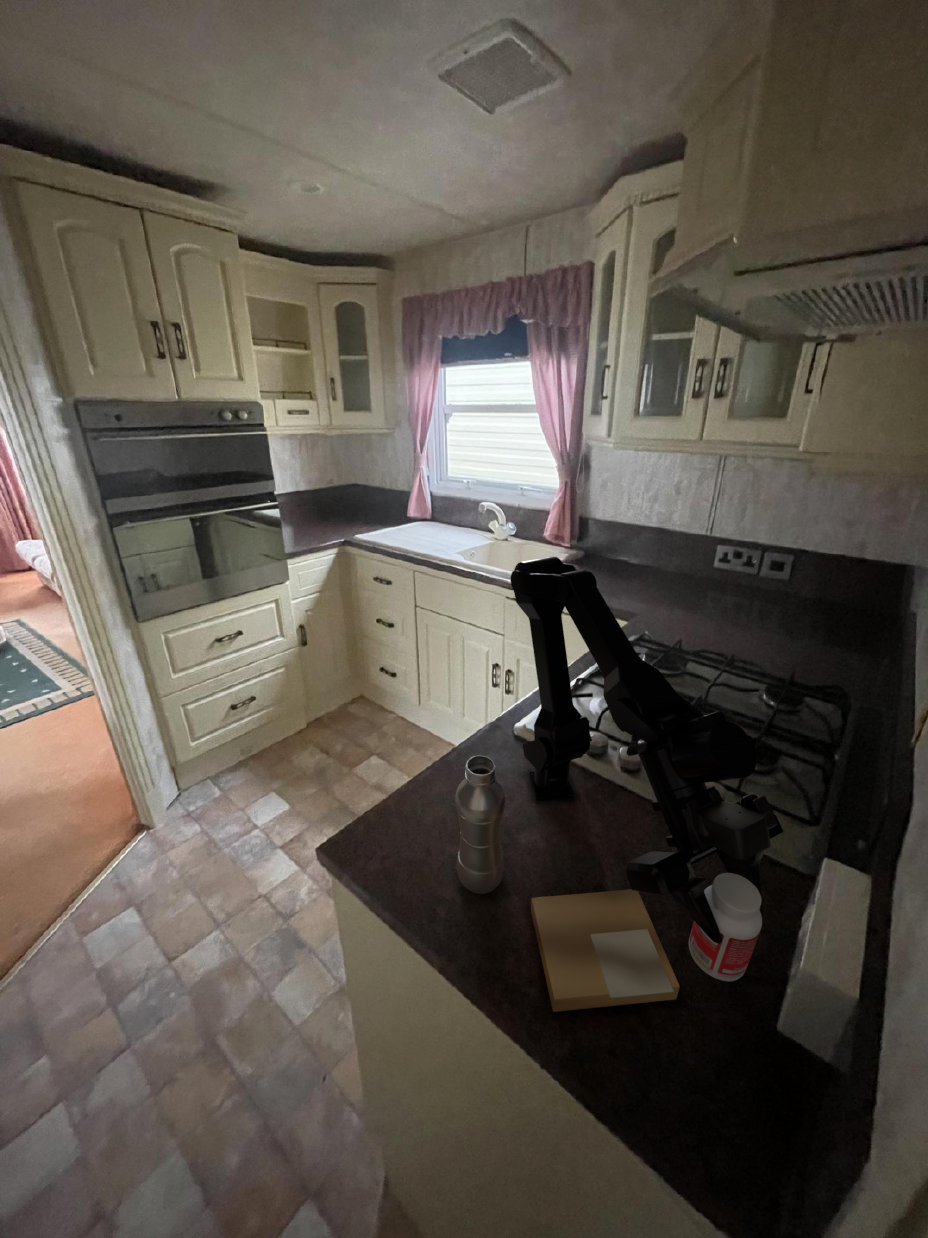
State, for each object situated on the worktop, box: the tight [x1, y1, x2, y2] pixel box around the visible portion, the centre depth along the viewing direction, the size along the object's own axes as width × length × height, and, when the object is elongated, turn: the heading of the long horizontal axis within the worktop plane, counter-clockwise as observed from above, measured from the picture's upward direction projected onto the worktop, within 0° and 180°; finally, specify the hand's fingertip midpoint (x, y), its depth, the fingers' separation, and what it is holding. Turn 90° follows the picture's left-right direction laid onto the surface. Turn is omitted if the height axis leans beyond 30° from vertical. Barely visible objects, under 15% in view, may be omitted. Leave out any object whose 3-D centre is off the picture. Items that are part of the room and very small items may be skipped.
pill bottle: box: [688, 872, 763, 982], centre depth 57 cm, size 6×6×11 cm
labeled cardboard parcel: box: [530, 888, 681, 1013], centre depth 61 cm, size 12×14×3 cm
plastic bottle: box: [454, 755, 506, 895], centre depth 67 cm, size 6×7×20 cm
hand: (738, 929), depth 56 cm, fingers closed on pill bottle, 6 cm apart
